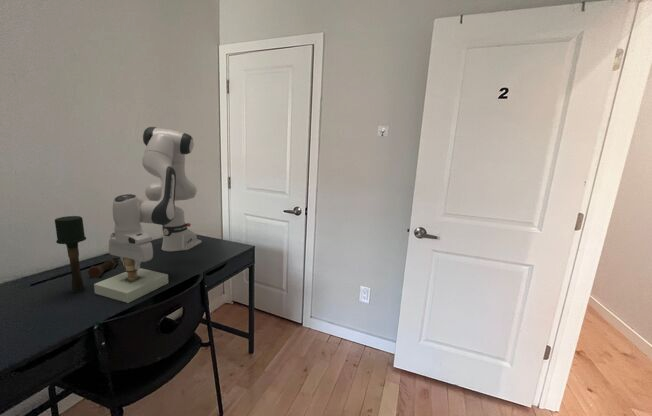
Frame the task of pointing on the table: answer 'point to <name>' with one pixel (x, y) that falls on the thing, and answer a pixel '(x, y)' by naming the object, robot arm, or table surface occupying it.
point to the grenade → (72, 245)
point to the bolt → (102, 268)
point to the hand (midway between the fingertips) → (131, 267)
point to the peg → (130, 269)
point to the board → (130, 285)
